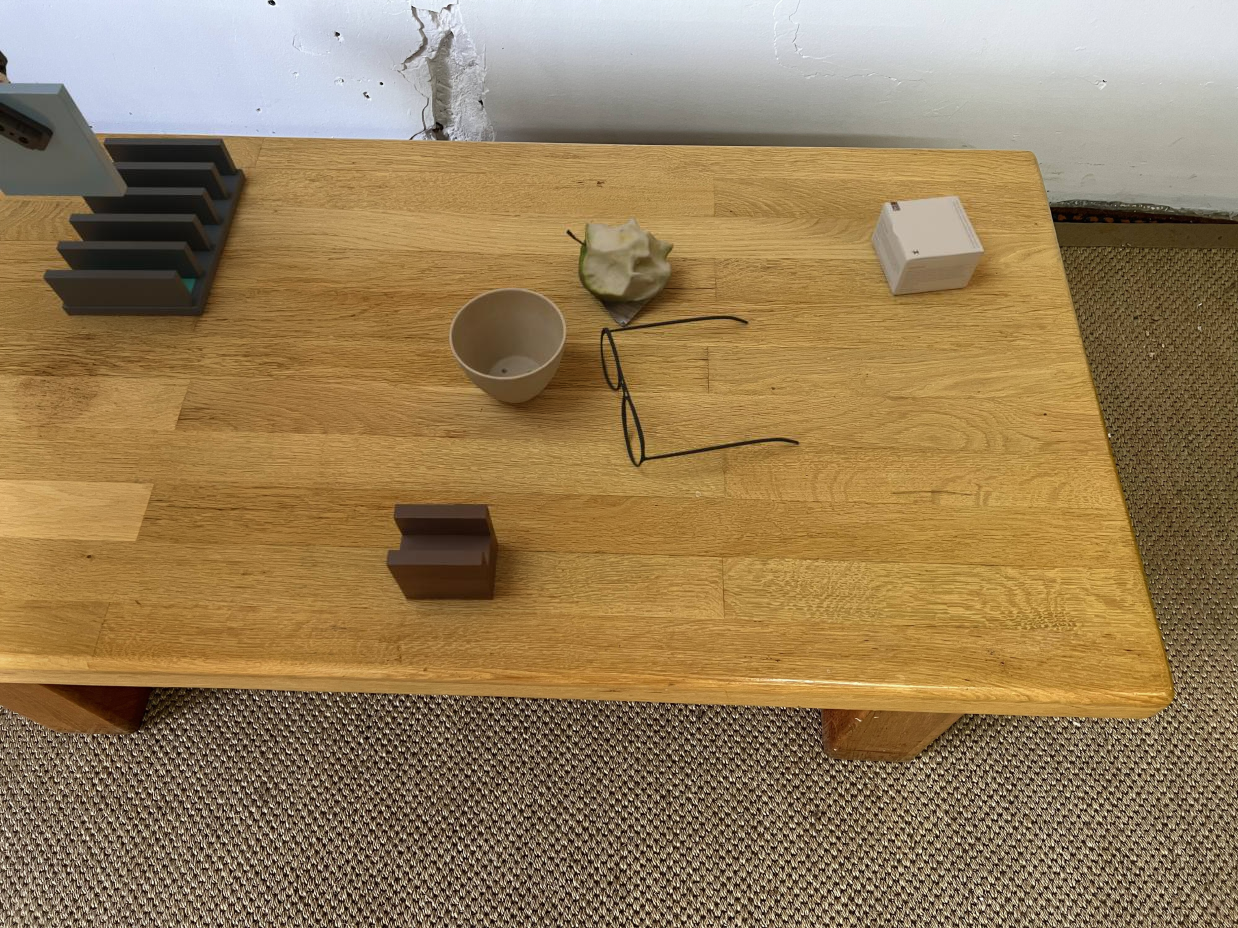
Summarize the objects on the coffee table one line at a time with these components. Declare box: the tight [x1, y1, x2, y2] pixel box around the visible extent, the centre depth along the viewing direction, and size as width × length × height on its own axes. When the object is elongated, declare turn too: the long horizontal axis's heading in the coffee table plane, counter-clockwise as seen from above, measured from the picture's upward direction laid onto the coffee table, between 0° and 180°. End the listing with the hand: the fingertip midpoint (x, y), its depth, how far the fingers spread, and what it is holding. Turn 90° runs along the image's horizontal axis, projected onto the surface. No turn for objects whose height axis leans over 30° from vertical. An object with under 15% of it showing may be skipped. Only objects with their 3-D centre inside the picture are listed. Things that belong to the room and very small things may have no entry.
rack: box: [42, 137, 247, 317], centre depth 86 cm, size 19×13×5 cm
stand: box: [385, 503, 499, 601], centre depth 67 cm, size 5×7×7 cm
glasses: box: [599, 315, 800, 468], centre depth 78 cm, size 14×15×5 cm
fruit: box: [566, 217, 675, 327], centre depth 83 cm, size 9×9×8 cm
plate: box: [0, 82, 127, 197], centre depth 69 cm, size 1×10×10 cm, turn 90°
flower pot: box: [448, 287, 567, 404], centre depth 77 cm, size 10×10×7 cm
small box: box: [870, 195, 985, 296], centre depth 85 cm, size 8×8×5 cm
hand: (52, 134), depth 68 cm, fingers closed on plate, 1 cm apart
